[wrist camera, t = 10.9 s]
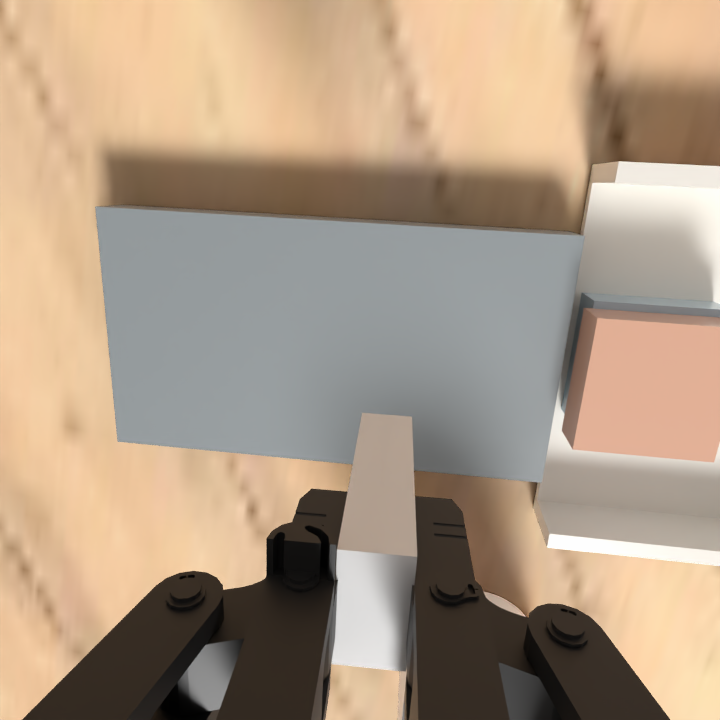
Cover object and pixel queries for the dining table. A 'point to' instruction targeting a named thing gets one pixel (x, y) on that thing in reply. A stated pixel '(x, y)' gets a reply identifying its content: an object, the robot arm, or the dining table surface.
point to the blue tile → (640, 306)
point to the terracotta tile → (645, 385)
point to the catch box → (596, 275)
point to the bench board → (336, 334)
